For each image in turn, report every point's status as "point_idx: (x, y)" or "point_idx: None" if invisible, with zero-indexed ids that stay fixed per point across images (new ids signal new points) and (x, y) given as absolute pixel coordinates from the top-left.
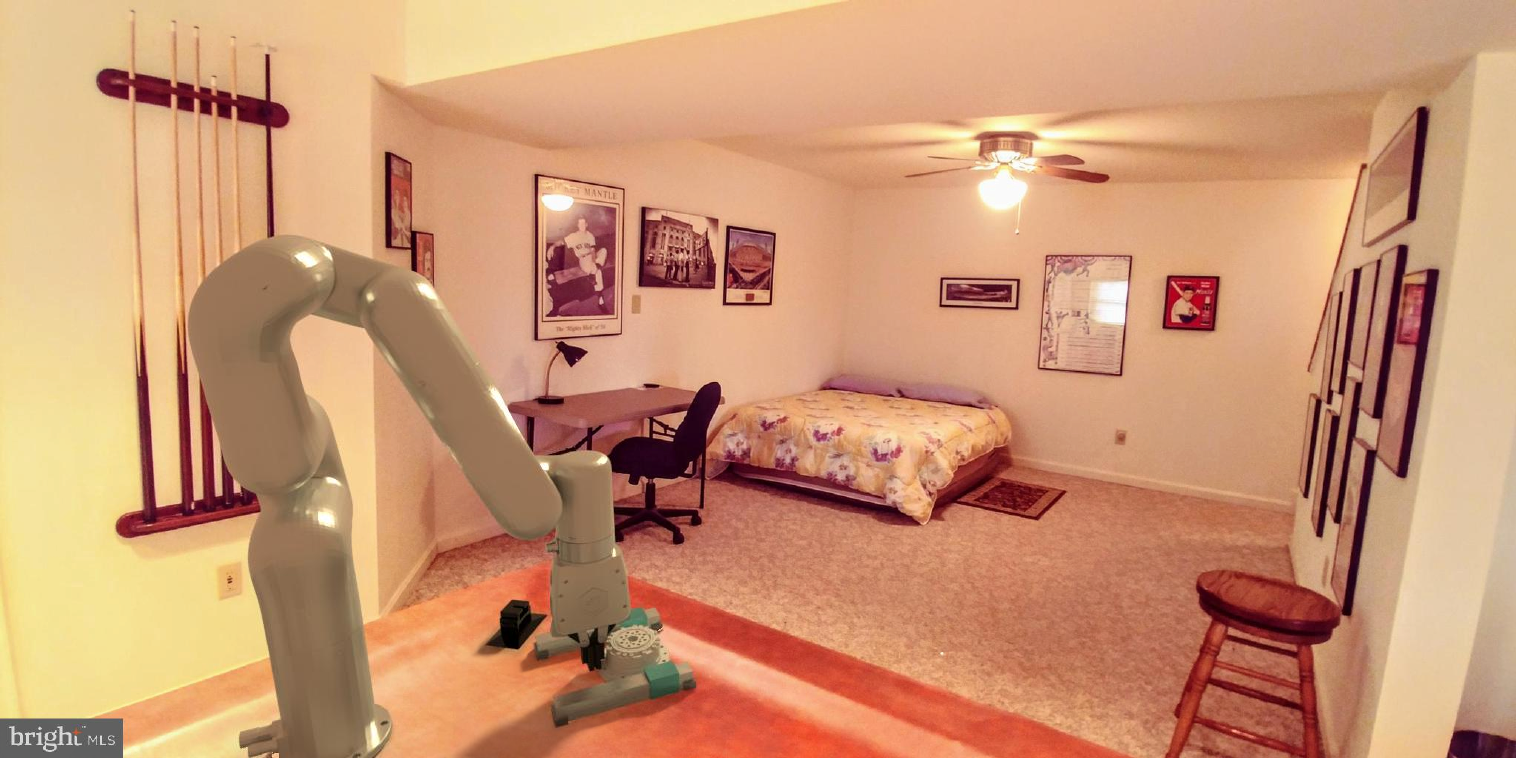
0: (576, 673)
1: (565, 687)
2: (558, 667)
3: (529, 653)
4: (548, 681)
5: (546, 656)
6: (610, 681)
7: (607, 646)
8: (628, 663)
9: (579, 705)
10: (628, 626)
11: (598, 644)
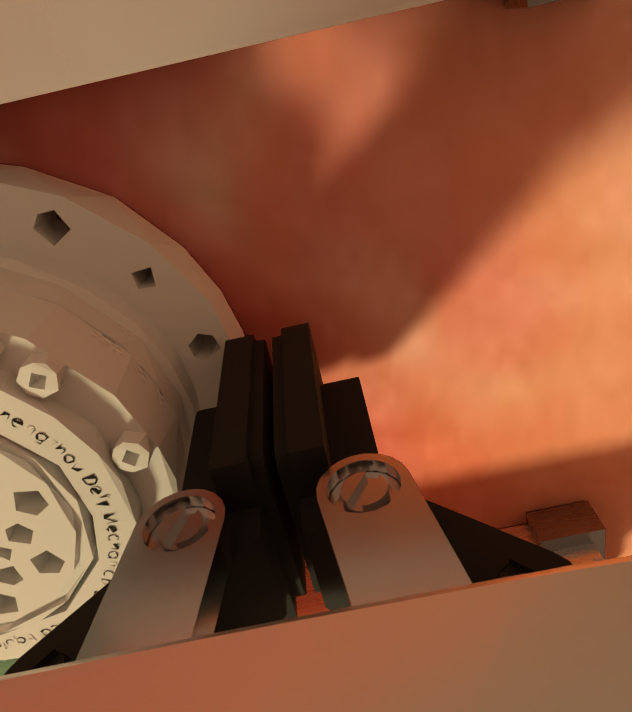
0: (388, 372)
1: (466, 253)
2: (485, 437)
3: (610, 555)
4: (558, 330)
5: (541, 520)
6: (161, 236)
7: (165, 489)
8: None
9: None
10: None
11: (225, 472)
